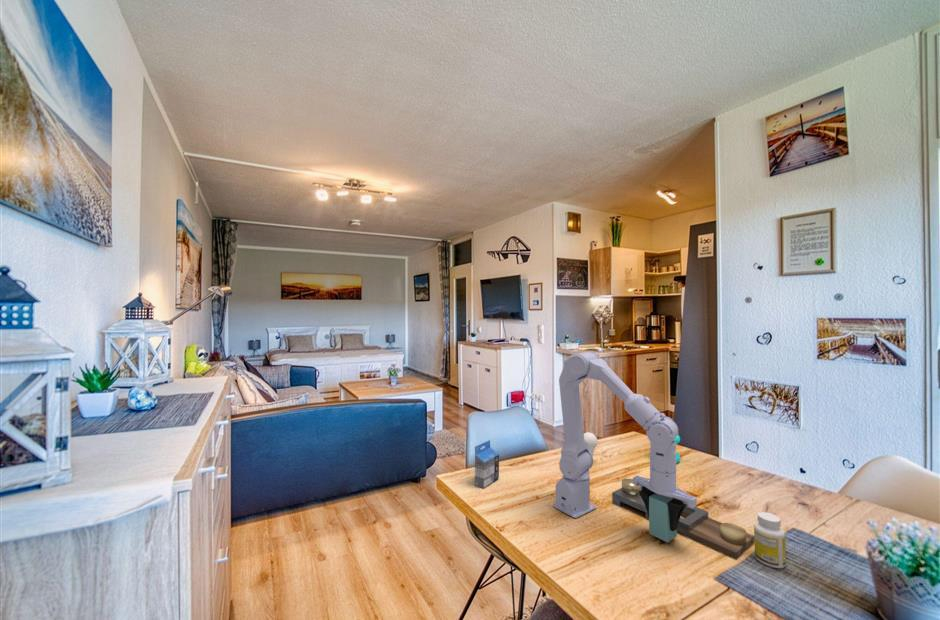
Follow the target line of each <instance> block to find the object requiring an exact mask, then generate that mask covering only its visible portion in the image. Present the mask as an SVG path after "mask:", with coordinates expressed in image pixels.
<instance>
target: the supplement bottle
mask: <svg viewBox="0 0 940 620" xmlns="http://www.w3.org/2000/svg"><path fill="white" fill-rule="evenodd" d="M781 522H782V521H781V518H780V517H779V516H777V515H775V514H773V513H770V512H762V511H760V512H758V513H757V521H756V522H755V523H754V525H753V530H754V531H753V534H754V535H753V536H754V543H753V544H754V557H755V559H756V560H757V561H758V562H760V563H761V564H763V565H764V566H768V567H770V568H772V569H783V568H785V567H786V565H787V562H786V559H787V556H786V533H785V531H784V530H783V529H782V528H781V525H782V524H781Z"/></svg>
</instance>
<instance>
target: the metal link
mask: <svg viewBox="0 0 940 620" xmlns="http://www.w3.org/2000/svg"><path fill="white" fill-rule="evenodd" d="M641 489H642V487H641V486H635V485H633V478H623V479H622V480H621V487H620V488H619V489H616V490H614V491H612V493H611V494H612V495H611V501H612V502H611V503H612V504H614V505H616V506H619V507H622V506H624V505H625V504H626V505H628V506H630V507H632V508H635V509H637V510H639V511H642V512H644V513H645V514H646V513H647V509H646V506H645V504H644V502H643V500H642V498H641V496H640V494H639V491H641ZM683 511H684V512H686V513H689V514H691V515H689V516H688V517H686V518H685V517H680V519H679V522H678V527H680V528H682V529H684V530H686V531H688V532H689V531H691V530H692V529H693V528H695V527H696V526H697V525H699V524H700V523H702V522H703V521H704V520H706V519H707V518H709V511H708V510H705V509H702V508H699V507H698V506H695V507H694V508H691V507H689V506H688V505H687V506H686V507H685V509H684V510H683Z"/></svg>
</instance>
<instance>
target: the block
mask: <svg viewBox="0 0 940 620" xmlns="http://www.w3.org/2000/svg"><path fill="white" fill-rule="evenodd" d="M669 501H672V499H671V498H669V497H666V496H664V495H660V494H657V493H655V494H653V495H651V496H649V519H648V534H650V535H651V536H653V537H655V538H658V539H660V540H662V541H664V542H666V543H670V542H671V541H672V540H673V539H675V538H676V537H678V533H677V529H676V530H675V531H671V530H670V515H669V509H668V505H667V503H668V502H669Z"/></svg>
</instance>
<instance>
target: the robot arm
mask: <svg viewBox="0 0 940 620" xmlns="http://www.w3.org/2000/svg"><path fill="white" fill-rule="evenodd" d="M585 379H589V380H590V379H591V380H596V381H600V382H601V383H603V384H604V385H605V386H606V388H608V389H609V390H611V391H612V392H613V394H615V395H616V396H617V398H619V399H620V400H621V401H622V402H623V403H624V404H623V405H624V410H625V411H626V412H627V414H629V416H631V417H632V418H633V419H634V421H636V423H637V424H638V425H639V426H640V427H642V428H643V430H645V432H646V433H645V434H646V437H647V439H648V441H650V446H649V447H650V448H649V478H647V477H643V476H639V475H635V476H633V477H632V479H633V485H635V486H641V487H642V489H641V491H639V494H640V496H641V498H642V500H643V502H644V504H645V506H646V509H647V513H648V516H649V496H651V495H653V494H655V493H657V494H660V495H664V496H666V497H669V498H671V499H672V501H669V502H668V503H667V505H668V509H669V515H670V530H671V531H675V530H676V529H677V527H678V522H679V519H680V518H682V516H681V514H682V512H683V510H684V509H685V507H686V506H687V505H688V506H689V507H691V508H694V507H698V506H697V505H698V504H697V501H698V500H697V497H696V496H693V495H691V494H689V493H687V492H686V491H684V490H683V489H680V488H678V487H677V463H676V452H677V450H676V449H677V448H676V447H677V446H676V445H677V444H676V441H673V440H674V439H675V438H676V437H677V435H679V426H678V425H677V423H676V422H675V421H674V419H673V418H671V417H669V416H666V414H665V413H664V412H660V411H659V410H658V409H657V408H656V407H655V406H654V405H653V404H652V403H651V399H650V398H649V397H648V396H643V394H641V393H634V392H633V391H632V390H631V389H630V388H629V386H628V385H627V384H625V383H624V381H623V380H622V379H621V378H620V377H619V376H618V375H617V373H615V372H614V371H613V370H612V369H611V368H610V366H609V365H608V364H607V362H606V361H605V359H603V358H602V357H600V356H599V354H598V353H596V352H594V351H592V350H589V351H588V350H587V351H584V352H581V353H580V352H578V353H576V352H575V353H572V354H571V355H569V356H568V357H567V358H566V359H565V360H564V361H563V368H562V370H561V373H560V375H559V379H558V383H559V384H558V385H559V393H560V395H559V396H560V402H561V413H562V414H561V415H562V425H563V434H564V443H563V444H562V448H561V450H560V455H561V456H560V459H559V463H558V466H559V470H560V472H561V474H562V477H561V478H560V479H559V480H558V481H557V482H556V484H555V503H554V504H552V506H553V507H554V508H556V509H557V510H559V511H561V512H562V513H564V514H566V515H568V516H569V517H572V518H573V519H577V518H580V517H581V516H583V515H585V514H587V513H590V512H591V511H593V510H595V509H597V506H596V505H595V504H593V503H590V502H591V501H590V499H591V498H590V497H591V496H590V495H591V493H590V492H591V488H590V487H591V485H590V483H591V482H590V480H591V478H590V477H591V476H590V469H591V468H592V467H593V465H594V457H592V455H591V453H590V451H589V445H588V444H587V442H586V441H585V440H584V433H585V432H584V425H583V423H584V422H583V416H582V415H583V414H582V405H581V395H580V394H581V393H580V384H581V383H583V381H584V380H585Z"/></svg>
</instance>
